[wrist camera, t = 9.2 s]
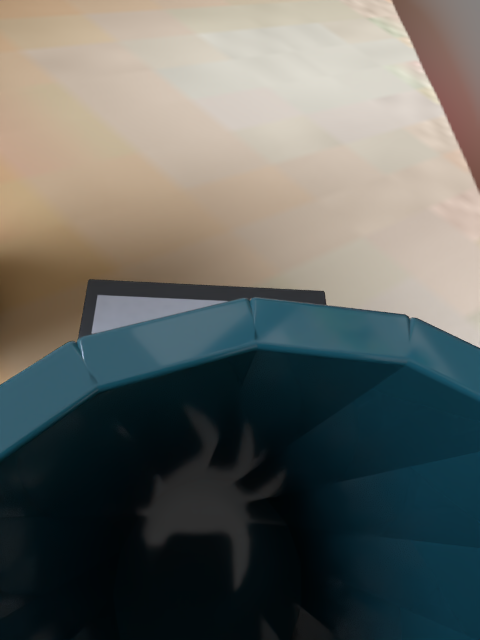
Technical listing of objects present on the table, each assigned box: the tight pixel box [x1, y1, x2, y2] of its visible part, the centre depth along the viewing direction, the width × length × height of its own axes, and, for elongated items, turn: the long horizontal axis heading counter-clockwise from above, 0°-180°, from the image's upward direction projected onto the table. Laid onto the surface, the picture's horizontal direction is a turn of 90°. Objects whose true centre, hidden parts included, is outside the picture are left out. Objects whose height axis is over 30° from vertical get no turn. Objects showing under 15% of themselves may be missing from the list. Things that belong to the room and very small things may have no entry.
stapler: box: [78, 279, 326, 338], centre depth 17 cm, size 10×4×4 cm, turn 90°
